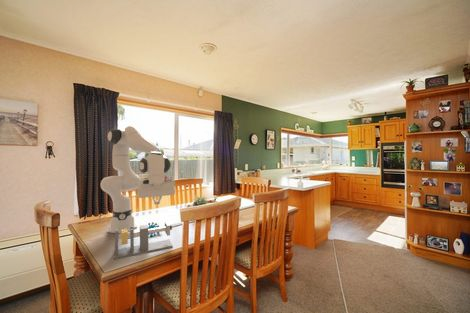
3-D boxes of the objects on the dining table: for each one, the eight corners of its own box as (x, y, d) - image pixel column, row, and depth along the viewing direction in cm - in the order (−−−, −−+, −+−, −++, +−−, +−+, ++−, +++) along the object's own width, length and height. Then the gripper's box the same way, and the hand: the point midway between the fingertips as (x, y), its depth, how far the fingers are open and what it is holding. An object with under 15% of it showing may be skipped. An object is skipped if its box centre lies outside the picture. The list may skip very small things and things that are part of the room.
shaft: (119, 239, 118) (118, 228, 118) (170, 230, 132) (170, 220, 131) (118, 244, 111) (118, 233, 111) (172, 234, 125) (172, 224, 124)
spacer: (121, 240, 118) (121, 229, 118) (127, 239, 120) (127, 228, 119) (121, 245, 113) (121, 233, 112) (127, 243, 114) (127, 232, 114)
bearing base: (114, 251, 118) (114, 226, 118) (169, 240, 132) (169, 218, 132) (113, 259, 109) (113, 232, 109) (172, 247, 124) (172, 223, 123)
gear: (142, 235, 136) (145, 221, 143) (142, 239, 140) (145, 225, 147) (160, 236, 140) (162, 222, 146) (159, 239, 143) (161, 226, 150)
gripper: (173, 178, 128) (174, 201, 128) (137, 180, 119) (137, 205, 119) (176, 179, 123) (176, 203, 123) (137, 181, 113) (138, 207, 113)
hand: (156, 204), depth 121 cm, fingers closed
